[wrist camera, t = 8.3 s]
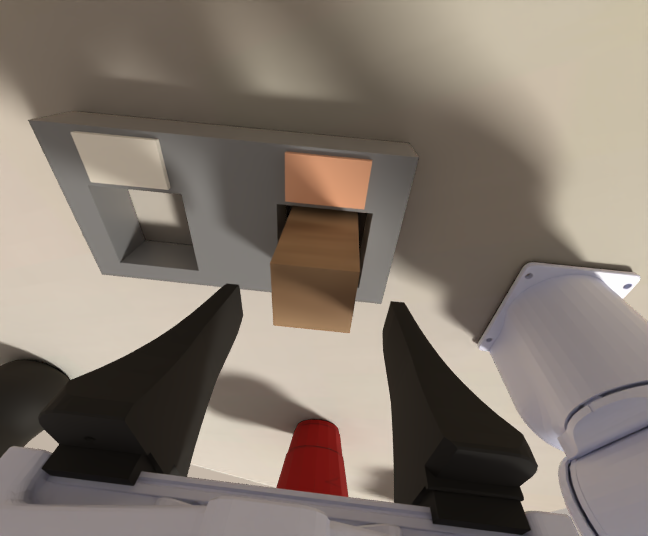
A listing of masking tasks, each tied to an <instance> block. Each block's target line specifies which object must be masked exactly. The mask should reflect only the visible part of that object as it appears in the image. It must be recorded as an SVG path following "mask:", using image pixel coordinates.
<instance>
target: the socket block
mask: <svg viewBox="0 0 648 536" xmlns="http://www.w3.org/2000/svg"><path fill="white" fill-rule="evenodd" d="M28 121H29V123H30V125H31V127H32V129H33V131H34V133H35V135H36V137H37V140H38V142H39V144H40V146H41V148H42V150H43V152H44V154H45V156H46V158H47V160H48V162H49V165H50V167H51V169H52V171H53V173H54V175H55V177H56V179H57V181H58V183H59V185H60V188H61V190H62V192H63V194H64V196H65V198H66V200H67V202H68V204H69V206H70V208H71V210H72V213H73V215H74V217H75V219H76V221H77V223H78V225H79V227H80V229H81V231H82V233H83V236H84V238H85V240H86V242H87V244H88V246H89V248H90V250H91V252H92V254H93V256H94V259H95V261H96V263H97V265H98V267H99V269H100V271H101V273H102V274H104V275H113V276H122V277H132V278H141V279H151V280H160V281H170V282H179V283H189V284H198V285H207V286H217V287H223V286H224V285H225V284H226V283H228V284H237V285H239V287H240V289H245V290H255V291H264V292H272V290H271V272H270V262H271V259H272V257H273V254H274V252H275V249H276V247H277V244H278V242H279V239H280V237H281V234H282V232H283V229H284V227H285V224H286V205H292V206H302V207H312V208H322V209H332V210H342V211H352V212H362V213H367V215H366V220H365V226H364V232H363V238H362V243H361V249H360V255H359V258H360V275H359V281H358V287H357V293H356V298H355V301H358V302H368V303H377V304H381V303H382V299H383V295H384V291H385V288H386V284H387V280H388V276H389V272H390V268H391V264H392V260H393V257H394V253H395V249H396V245H397V241H398V237H399V233H400V229H401V226H402V222H403V218H404V214H405V210H406V206H407V202H408V199H409V195H410V191H411V187H412V183H413V179H414V175H415V171H416V168H417V164H418V160H419V157H418V155H417V154H416V152H415V151H414V149H413V148H412V146H411V145H410V143H403V142H393V141H382V140H372V139H361V138H351V137H340V136H330V135H319V134H309V133H298V132H288V131H277V130H267V129H256V128H246V127H235V126H225V125H215V124H204V123H194V122H183V121H173V120H162V119H152V118H141V117H131V116H120V115H110V114H99V113H89V112H78V111H71V112H66V113H61V114H56V115H51V116H45V117H40V118H35V119H30V120H28ZM128 189H133V190H143V191H153V192H163V193H173V194H181V195H182V199H183V203H184V208H185V212H186V216H187V221H188V225H189V230H190V234H191V238H192V243H193V245H185V244H175V243H165V242H156V241H146V240H145V239H144V236H143V233H142V230H141V227H140V224H139V221H138V218H137V215H136V212H135V209H134V206H133V203H132V200H131V197H130V195H129V192H128Z"/></svg>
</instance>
